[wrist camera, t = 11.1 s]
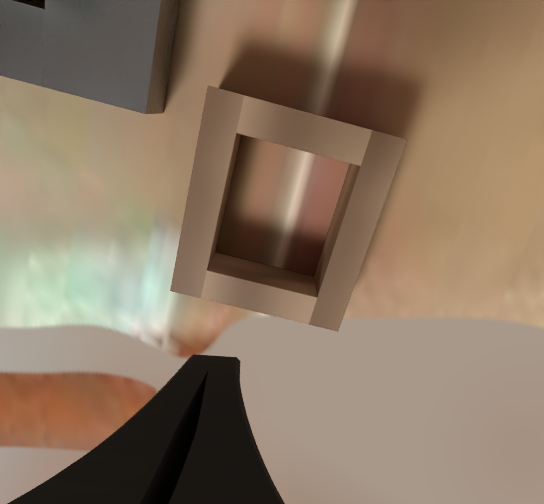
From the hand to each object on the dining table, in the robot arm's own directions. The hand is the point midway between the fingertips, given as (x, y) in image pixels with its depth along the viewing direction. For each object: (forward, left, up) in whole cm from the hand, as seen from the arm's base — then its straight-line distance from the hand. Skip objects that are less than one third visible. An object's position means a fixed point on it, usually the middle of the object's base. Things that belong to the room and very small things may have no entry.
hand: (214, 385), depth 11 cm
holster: (-1, -3, -10) cm, 11 cm away
